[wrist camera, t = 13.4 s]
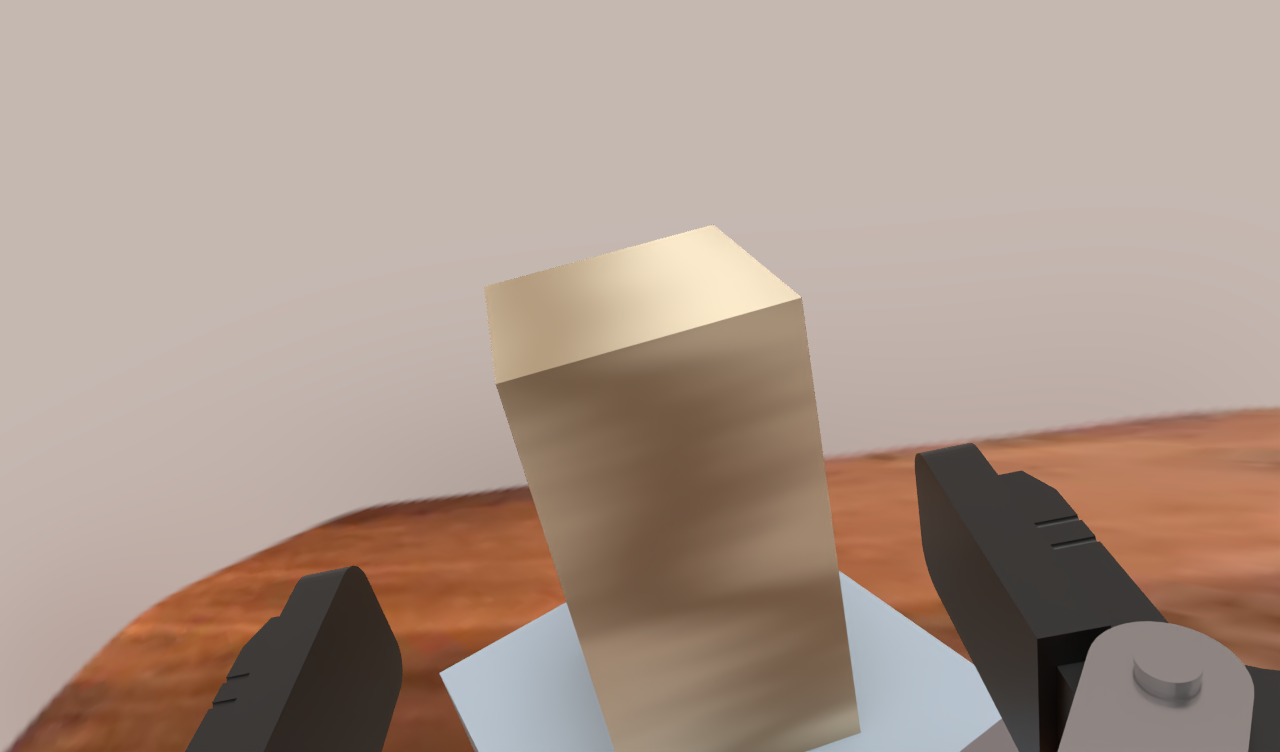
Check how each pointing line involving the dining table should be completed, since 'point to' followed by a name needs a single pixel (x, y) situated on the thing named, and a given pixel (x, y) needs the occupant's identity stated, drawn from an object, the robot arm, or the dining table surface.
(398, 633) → the dining table surface
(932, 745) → the slate block
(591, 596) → the birch block
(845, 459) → the dining table surface
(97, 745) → the dining table surface
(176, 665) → the dining table surface
